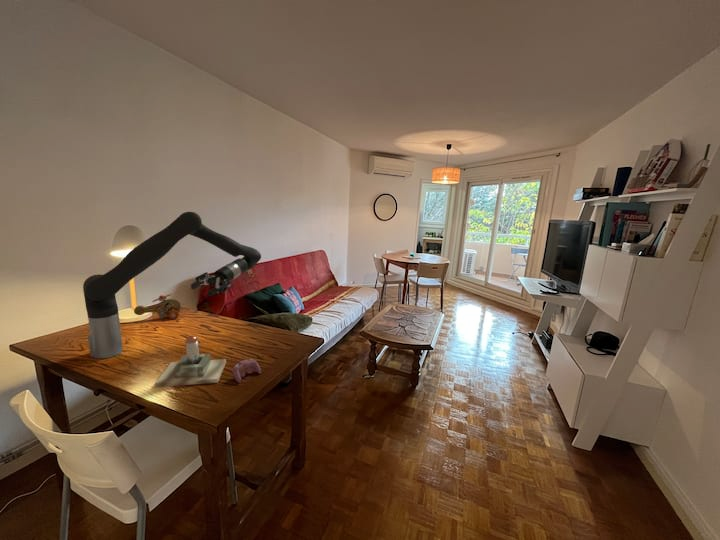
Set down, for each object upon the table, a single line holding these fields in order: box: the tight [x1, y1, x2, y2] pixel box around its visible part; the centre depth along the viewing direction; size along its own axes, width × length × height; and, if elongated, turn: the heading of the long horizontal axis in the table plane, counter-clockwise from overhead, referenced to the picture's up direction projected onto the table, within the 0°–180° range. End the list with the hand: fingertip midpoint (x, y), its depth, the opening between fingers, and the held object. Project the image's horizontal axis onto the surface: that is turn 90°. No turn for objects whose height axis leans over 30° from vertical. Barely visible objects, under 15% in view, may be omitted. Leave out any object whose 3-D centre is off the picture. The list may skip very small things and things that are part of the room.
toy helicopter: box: [133, 293, 182, 320], centre depth 154 cm, size 8×21×14 cm, turn 121°
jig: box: [154, 353, 227, 388], centre depth 108 cm, size 20×14×6 cm
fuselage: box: [185, 335, 200, 365], centre depth 107 cm, size 4×4×14 cm
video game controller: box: [231, 358, 262, 384], centre depth 109 cm, size 10×5×7 cm, turn 142°
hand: (199, 291), depth 118 cm, fingers open, 8 cm apart
